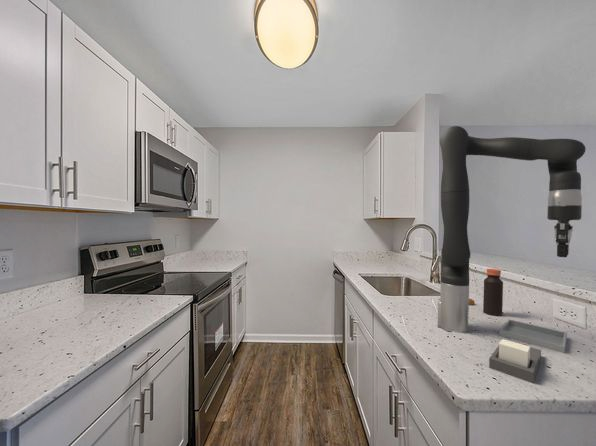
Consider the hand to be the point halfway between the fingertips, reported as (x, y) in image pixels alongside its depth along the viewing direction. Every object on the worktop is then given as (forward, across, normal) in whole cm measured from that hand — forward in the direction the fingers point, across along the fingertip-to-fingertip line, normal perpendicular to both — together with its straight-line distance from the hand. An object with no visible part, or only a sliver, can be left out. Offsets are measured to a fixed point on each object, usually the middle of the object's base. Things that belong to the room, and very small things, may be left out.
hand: (562, 256), depth 82 cm
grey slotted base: (+30, +21, -8) cm, 38 cm away
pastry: (+31, -32, -36) cm, 57 cm away
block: (+30, +25, -8) cm, 40 cm away
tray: (+30, -5, -7) cm, 31 cm away
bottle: (+30, -23, -22) cm, 44 cm away
